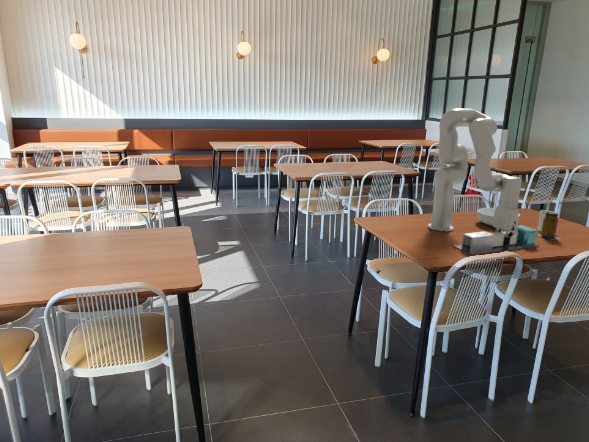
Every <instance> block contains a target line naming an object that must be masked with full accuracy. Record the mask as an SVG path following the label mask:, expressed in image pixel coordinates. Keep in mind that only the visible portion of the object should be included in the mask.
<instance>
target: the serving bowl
mask: <svg viewBox="0 0 589 442" xmlns="http://www.w3.org/2000/svg"><path fill="white" fill-rule="evenodd" d="M495 210H496V207H481V208H478V209H477V210H476V215H477V219H478V220H479V221H480V222H481V223H484V224H485V225H488V226H491V227H493V226H492V222H493V217H494V213H495ZM520 216H521V214H520V213H519V212H518V221H519V219H520Z"/></svg>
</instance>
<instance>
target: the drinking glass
mask: <svg viewBox="0 0 589 442" xmlns="http://www.w3.org/2000/svg"><path fill="white" fill-rule="evenodd" d="M547 212H553V213H556V212H555V211H551V210H545V209H544V210H543V209H541V210H540V211H539V218H538V224H537V225H538V226H537V232H538V231H539V232H541V231H542V226H543V220H544V218H545V215H546V213H547Z"/></svg>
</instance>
